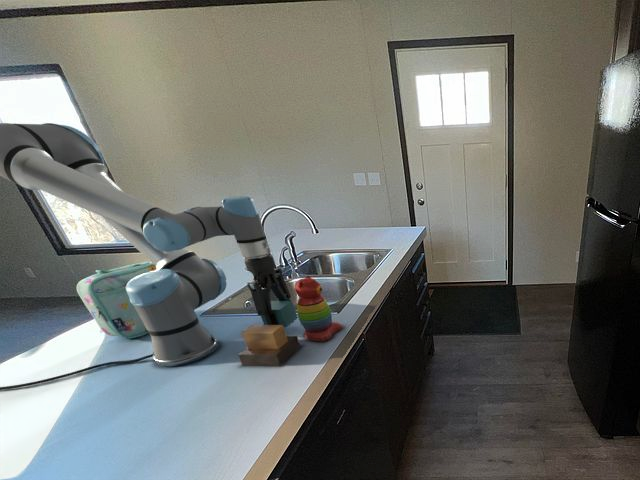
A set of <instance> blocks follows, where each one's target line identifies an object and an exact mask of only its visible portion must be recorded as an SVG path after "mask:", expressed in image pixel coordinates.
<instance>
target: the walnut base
mask: <svg viewBox="0 0 640 480" xmlns="http://www.w3.org/2000/svg"><path fill="white" fill-rule="evenodd" d="M286 336H287V339H288V341H287V342H286V343H285V344H284V345H283V346H282V347H281V348H280V349H248V348H247V347H245V348H244V349H243V350H242V351H240V352H239V353H238V354H237V356H238V358H239V360H240V363H241V365H242V367H243V366H244V367H281V366H282V365H283V364H284V363H285V362H286V361H287V360H288V359H290V357H291V356H292V355H293V354H295V352H297V351H298V349H300V348H301V343H300V341H299V338H298V335H286Z"/></svg>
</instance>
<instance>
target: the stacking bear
mask: <svg viewBox="0 0 640 480" xmlns="http://www.w3.org/2000/svg"><path fill="white" fill-rule="evenodd" d="M294 291H295V293H296V295H297V296H298V297H299V298H298V301H297V304H296V309H297V317H298V318H297V319H298V320H299V323H300V324H301V326H302V327H303V329H304V337H305V338H306V339H308V340H309V341H313V342H326V341H329V340H330V339H332V336H333V334H335V333H336V332H338V331H341V330H342V329H343V326H342V324H341V323H340V322H336V321H333V316H332V310H331V308H330V305H329V303H328V301H327V300H326V299H325V297H324V295H322V292H323V286H322V284H321V283H319V281H317V280H316V279H314V278H312V277H311V276H310V275H306V276H305V277H304V278H300V279H298V280H297V281H296V283H295V285H294Z"/></svg>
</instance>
